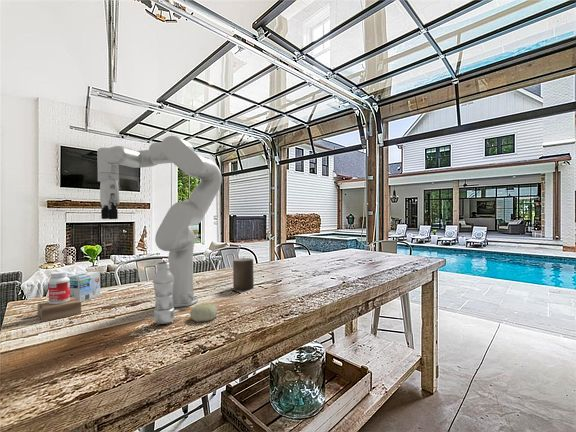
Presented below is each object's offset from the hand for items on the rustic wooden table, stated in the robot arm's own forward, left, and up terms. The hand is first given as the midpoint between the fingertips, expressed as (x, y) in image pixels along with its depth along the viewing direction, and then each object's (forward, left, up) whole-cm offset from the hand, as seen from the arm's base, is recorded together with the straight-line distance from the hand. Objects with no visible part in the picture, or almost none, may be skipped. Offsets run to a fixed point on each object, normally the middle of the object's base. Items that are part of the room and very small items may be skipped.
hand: (109, 219), depth 122 cm
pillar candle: (-27, -49, -35) cm, 66 cm away
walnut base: (-4, +18, -34) cm, 39 cm away
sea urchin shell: (-48, -15, -35) cm, 61 cm away
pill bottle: (-4, +18, -30) cm, 35 cm away
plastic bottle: (-42, -4, -34) cm, 54 cm away
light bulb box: (+12, +7, -35) cm, 37 cm away
